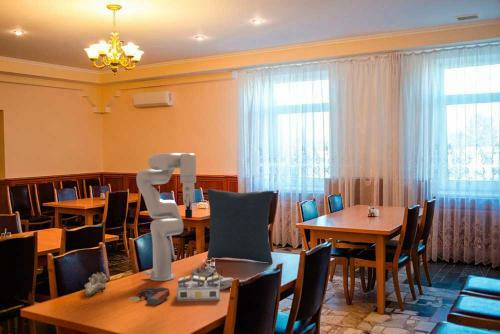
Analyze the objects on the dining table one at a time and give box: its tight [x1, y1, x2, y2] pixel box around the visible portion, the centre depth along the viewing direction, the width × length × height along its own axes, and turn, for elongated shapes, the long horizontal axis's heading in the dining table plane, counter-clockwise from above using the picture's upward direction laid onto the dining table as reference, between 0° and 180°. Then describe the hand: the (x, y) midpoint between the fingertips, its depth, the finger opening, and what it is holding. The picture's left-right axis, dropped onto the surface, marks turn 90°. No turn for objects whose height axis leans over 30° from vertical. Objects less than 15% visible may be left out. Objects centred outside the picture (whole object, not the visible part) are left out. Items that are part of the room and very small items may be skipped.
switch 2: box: [192, 275, 205, 283], centre depth 222 cm, size 6×5×2 cm
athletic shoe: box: [191, 264, 235, 291], centre depth 239 cm, size 10×23×12 cm, turn 77°
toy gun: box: [127, 286, 171, 306], centre depth 221 cm, size 18×5×15 cm
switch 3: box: [207, 274, 220, 284], centre depth 222 cm, size 6×5×2 cm
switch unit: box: [176, 280, 221, 302], centre depth 222 cm, size 19×12×7 cm, turn 93°
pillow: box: [206, 188, 275, 264], centre depth 292 cm, size 44×16×44 cm, turn 70°
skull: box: [84, 271, 109, 297], centre depth 232 cm, size 9×18×10 cm
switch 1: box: [177, 275, 192, 285], centre depth 222 cm, size 6×5×2 cm
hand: (188, 217), depth 231 cm, fingers closed
